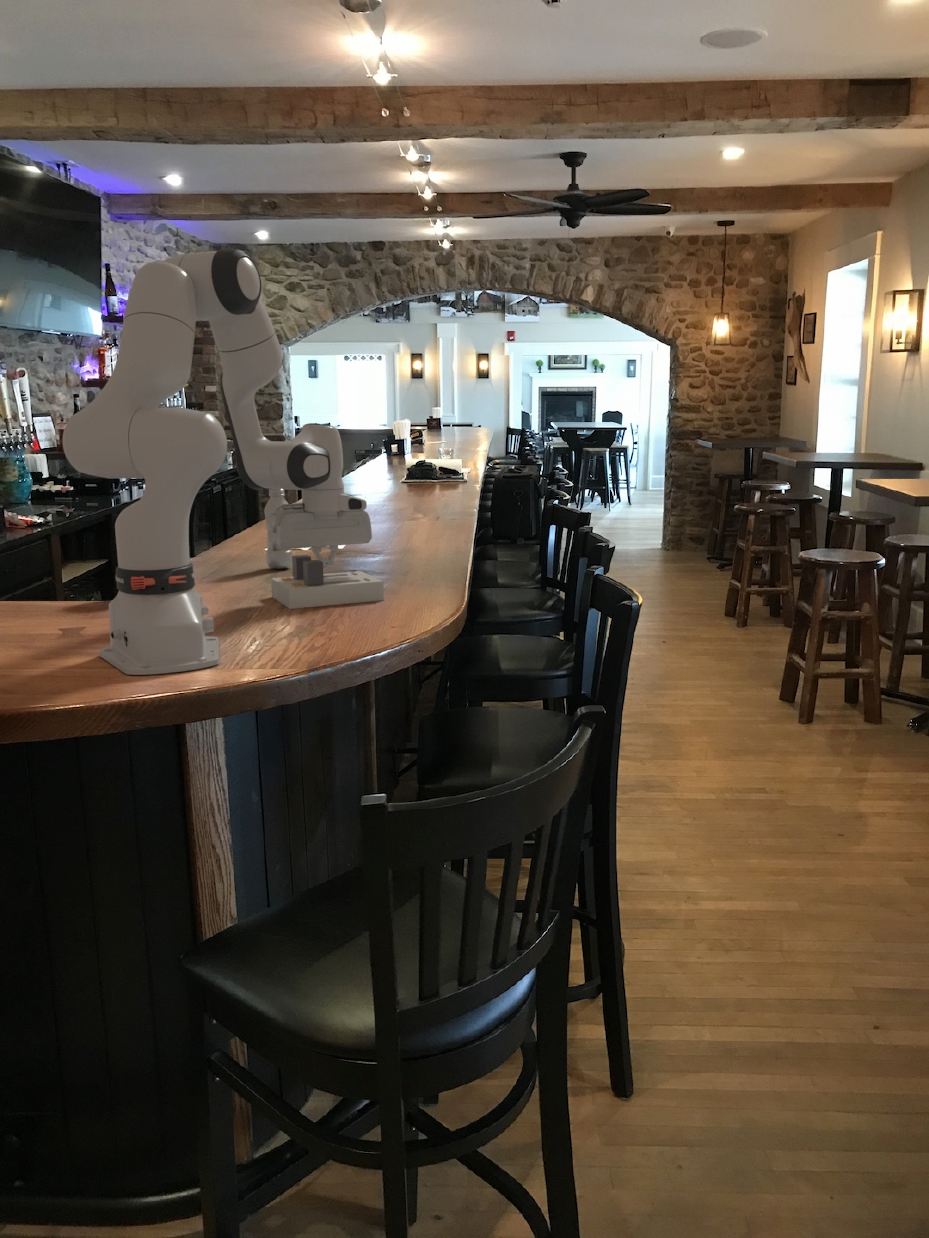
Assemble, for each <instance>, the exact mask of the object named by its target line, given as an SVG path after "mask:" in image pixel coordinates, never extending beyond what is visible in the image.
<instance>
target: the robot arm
mask: <svg viewBox="0 0 929 1238" xmlns="http://www.w3.org/2000/svg"><path fill="white" fill-rule="evenodd" d="M261 294H262V280H261V275H260V271H259V269H258V267H257V265H256V264H255V262H254V261H253V258H251V257H250V256H249V255H248V254H247V253H245V251H242V250H241V249H237V248H220V249H218V250H209V251H199V252H188V253H183V254H179V255H176V256H175V255H174V256H172V257H170V258H166V259H164V260H163V259H158V260H155V261H151V262H147V263H145V264H143V265H142V266H141V267H139V269H138V270H137V271H136V273H135V276H134V278H133V281H132V283H131V287H130V290H129V293H128V297H127V301H126V305H125V310H124V314H123V315H124V316H123V321H122V328H121V329H122V330H121V334H120V341H119V347H118V352H117V357H116V362H115V365H114V368H113V370H112V373H111V375H110V376H109V378H108V380H107V382H106V383H105V385H104V387H103V388H102V390H100V392H99V393H98V395H96V396H95V398H94V399H92V401H91V402H90V403H89V404H88V405H87V406H85V407H83V408H82V409H81V410H79V411H77V412H76V413H74V414H73V415H72V416H71V417H70V418H69V419H68V421H67V422H66V423H65V427H64V429H63V433H62V448H63V452H64V455H65V457H66V459H67V461H68V462H69V463H70V465H71V466H72V467H73V468H74V469H75V470H76V471H77V472H78V473H82V474H85V475H90V476H94V477H99V478H103V479H104V478H105V479H142V480H143V479H144V490H143V494H142V495H141V498H140V499H138V500H137V501H135V502H133V503H132V504H130V505H128V506H126V507H125V508H124V509H122V510H121V511H120V513H119V514H118V516H117V518H116V520H115V523H114V530H115V544H116V555H117V565H118V566H116V567H115V577H114V578H115V581H116V589H117V590H118V592H117V595H116V596H115V597H114V598H113V599H112V600H111V601H110V602H109V603H108V621H109V638H110V645H109V646H104V647H102V648H100V649H99V657H100V658H102V659H104V661H107V662H108V663H109V664H111V665H112V666H114V667H115V668H116V669H118V670H120V671H121V672H123V673H124V674H125V675H131V676H132V675H133V676H134V675H135V676H139V675H159V674H171V673H178V672H179V673H181V672H187V671H194V670H199V669H200V670H201V669H204V668H209V667H213V666H216V665H219V664H220V641H219V637H217V636H212V635H211V636H207V635H206V634H207V633H212V632H215V625H214V618H213V617H204V616H207V615H209V606H207V605H204V602H203V601H204V600H203V595H202V594H201V593H199V592H198V591H197V590H195V588H194V587H195V586H196V582H195V581H196V580H195V570H194V567H193V563H192V562H191V560H190V559H191V558H190V542H189V541H190V538H189V537H190V536H189V535H190V528H189V527H190V514H191V511H192V507H193V503H194V501H195V498H196V496H197V494H198V492H199V491H200V489H201V488H202V487H203V486H204V484H205V483H206V481H208V479H209V478H211V477H212V476H213V475H214V474H216V473H217V472H218V471H219V469H220V468H221V467H222V466H223V464H224V462H225V459H226V456H227V453H228V452H227V451H228V440H227V439H228V438H227V436H226V432H225V429H224V427H223V425H222V424H221V423H220V421H219V420H218V419H217V418H216V416H214V415H213V414H212V413H210V412H209V413H208V412H205V411H201V410H196V409H191V408H190V409H189V408H184V407H160V406H161V404H162V403H164V401H166V400H167V399H168V398H170V397H172V396H174V395H176V394H177V393H179V392H180V391H181V390H183V388H185V386H187V385H186V384H188V382H189V381H190V377H191V373H192V372H191V371H192V364H193V363H192V361H193V353H194V344H195V336H196V323H197V322H202V321H203V322H209V326H210V330H211V333H212V336H213V337H212V338H213V339H214V342H215V346H216V348H217V351H218V353H219V357H220V360H221V364H222V373H221V375H220V379H219V387H220V392H221V393H220V394H221V397H222V403H223V406H224V410H225V414H226V418H227V421H228V425H229V428H230V429H229V430H230V433H231V438H232V440H233V445H234V451H235V460H236V461H235V463H236V469H237V473H238V475H239V477H240V479H241V481H242V482H243V483H244V484H245V486H247V487H248V488H250V489H252V490H255V491H264V490H265V491H266V490H269V489H284V491H285V490H287V491H288V490H293V491H295V490H297V491H301V503H299V502H298V503H297V502H296V503H292V504H290V503H288V504H283V505H282V506H281V507H279V508H278V509H277V510H276V512H275V519H276V523H277V524H278V525H277V544H278V546H279V547H280V548H282V549H291V550H293V549H295V550H296V549H306V548H307V549H308V548H311V549H312V550H311V551H312V552H313V554H314V557H316V560H319V561H321V562H323V569H324V568H333V567H334V559H335V557H336V556H337V553H338V552H339V546H350V545H362V544H364V545H365V544H369V543H370V541H372V536H373V535H372V534H373V531H372V522H371V517H370V515H369V513H368V512H367V511H366V509H367V504H368V503H367V500H365V499H363V498H360V497H357V496H354V495H352V494H348V493H346V492H345V485H344V481H343V478H342V477H343V470H344V453H343V443H342V439H341V435H340V432H339V430H338V428H336V427H335V426H334V425H331V424H327V423H315V422H313V423H311V422H309V423H306V424H303V425H302V427H301V431H299V433H298V434H297V435H296V436H294V437H292V438H291V439H288V440H286V441H278V440H277V441H274V440H273V441H272V440H270V439H268V438H266V437H265V436H264V434H263V433H262V428H261V424H260V421H259V417H258V411H257V409H256V404H255V396H256V393H257V391H259V390H261V389H262V388H264V387H265V386H267V385H268V384H269V383H271V382H272V381H273V380H274V379H275V378H276V376H277V375H278V374H279V372H280V369H281V368H282V367H281V366H282V363H283V355H282V348H281V344H280V341H279V339H278V335H277V334H276V331H275V328H274V325H273V323H272V320H271V318H270V316H269V313H268V311H267V309H266V307H265V304H264V302H263V301H262V299H261ZM281 508H282V509H284V510H279V509H281ZM322 547H328V550H329V551H330V553H328V556H327V557H323V556H322V555H321V552H322ZM205 633H206V634H205Z"/></svg>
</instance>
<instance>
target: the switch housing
mask: <svg viewBox="0 0 929 1238" xmlns="http://www.w3.org/2000/svg"><path fill="white" fill-rule="evenodd" d="M323 580H324V584H318V585H307V584H305V583H304V579H296V578H294V577H293V576H284V577H283V576H282V577H272V578H270V582H271V597H272V598H273V599H274V600H276V601H278V602H279V603H280V604H281V605H284V606H285V607H286V608H288V609H289V610H293V609H304V608H305V607H306V608H314V607H315V608H316V607H326V606H337V605H344V604H347V605H348V604H357V603H359V604H360V603H367V602H380V601H384V600H385V598H384V596H385V595H384V593H385V591H384V589H385V588H384V580H381V579H379V578H376V577H374V576H372V575H370V574H368V573H365V572H363V571H362V570H358V571H357V570H356V571H348V572H332V573H323Z"/></svg>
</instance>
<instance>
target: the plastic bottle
mask: <svg viewBox="0 0 929 1238" xmlns="http://www.w3.org/2000/svg"><path fill="white" fill-rule="evenodd" d="M268 496H269V500H268V501H267V502H266V504H265V507H264V511H263V512H264V517H265V523H266V524H265V525H266V530H267V548H266V549H267V550H266V555H265V561H266V562H265V563H266V565H267V567H268V568H270V569H275V570H283V569H284V570H285V569H286V568H287V569H288V568H290V567H292V556H294V554H293V551H292V550H293V549H282V548H280V547H279V546H278V544H277V525H278V524H277V523H276V519H275V512H276V510H277V509H278V508H279V507H281V506H282V505H283V504H289V503H288V501H287V500H286V498H285V496H286V493H285V490H284V489H268ZM279 510H284V509H282V508H281V509H279Z"/></svg>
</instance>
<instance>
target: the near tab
mask: <svg viewBox="0 0 929 1238" xmlns="http://www.w3.org/2000/svg"><path fill="white" fill-rule="evenodd" d="M303 574H304V583H305V584H307V585H318V584H324V580H323V574H324V568H323V562H321V561H319V560H318V559H314V560H312V559H311V560H310V561H303Z"/></svg>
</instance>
